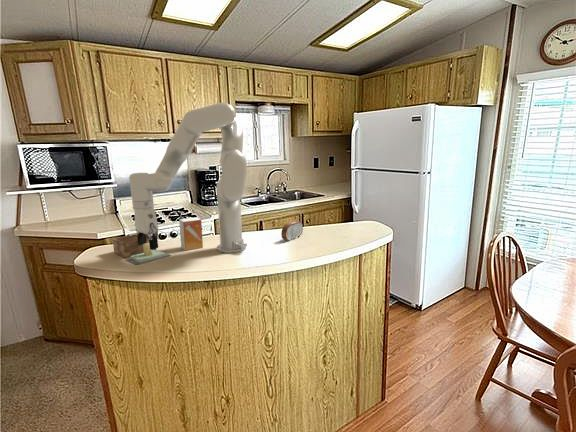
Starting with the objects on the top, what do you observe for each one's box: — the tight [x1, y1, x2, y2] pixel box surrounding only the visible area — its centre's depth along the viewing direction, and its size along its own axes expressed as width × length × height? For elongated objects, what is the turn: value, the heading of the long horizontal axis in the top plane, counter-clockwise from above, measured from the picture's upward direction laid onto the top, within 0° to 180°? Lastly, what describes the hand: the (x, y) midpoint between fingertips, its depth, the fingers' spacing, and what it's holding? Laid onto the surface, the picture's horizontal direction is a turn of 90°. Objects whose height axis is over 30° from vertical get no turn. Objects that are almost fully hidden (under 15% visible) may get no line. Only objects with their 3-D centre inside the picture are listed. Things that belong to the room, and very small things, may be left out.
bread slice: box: [281, 220, 304, 242], centre depth 154 cm, size 15×3×8 cm, turn 144°
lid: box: [130, 243, 166, 263], centre depth 129 cm, size 8×11×6 cm
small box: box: [178, 216, 204, 251], centre depth 141 cm, size 8×6×13 cm
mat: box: [125, 252, 171, 266], centre depth 130 cm, size 9×14×1 cm, turn 140°
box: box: [112, 233, 157, 260], centre depth 136 cm, size 11×13×6 cm
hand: (148, 246), depth 129 cm, fingers open, 9 cm apart
